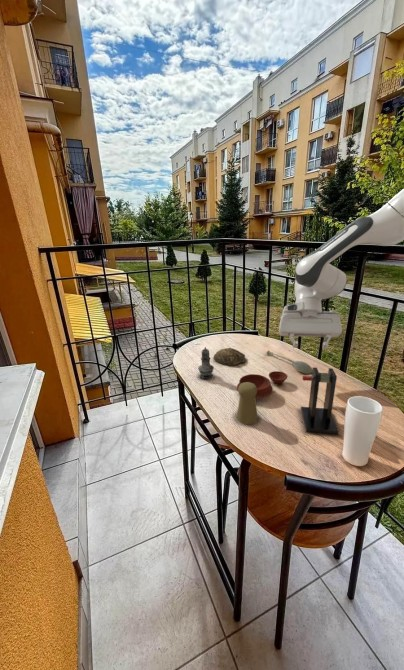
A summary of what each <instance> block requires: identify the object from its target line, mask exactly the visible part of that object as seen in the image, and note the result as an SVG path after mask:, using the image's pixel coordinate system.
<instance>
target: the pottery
mask: <svg viewBox="0 0 404 670" xmlns="http://www.w3.org/2000/svg"><path fill="white" fill-rule="evenodd" d="M287 380H288V374H287V373H285V372H284V371H280V370H279V371H271V372H269V373H268V377H266V376H265V375H262V374H256V373H253V374H252V373H251V374H246V375H243V376H241V377H240V378H239V380H238V383H237V385H236V391H238V388H239V386H240V384H241V383H244V382H250V383H253V384H255V386H256V387H257V394H256V395H255V399H261V398H266V397H268V396H270V395H271V394H272V393H273V390H274V388H273V385H275V386H281V385H282V384H283V383H284V382H285V381H287ZM271 381H272V383H273V385H272V383H271Z"/></svg>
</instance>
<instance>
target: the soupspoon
mask: <svg viewBox="0 0 404 670" xmlns="http://www.w3.org/2000/svg"><path fill="white" fill-rule="evenodd" d="M266 354H267V355H274V356H276V357H279V358H281V359H283V360H286V361H288V362H290V363H291V364H292V365H291V366H292V367H293V368H294V369H295V370H297V371H298V372H300V373H301V374H305V375H310V374H312V371H313V367H312V366H311V365H310V364H309V363H307V362H305V361H302V360H301V361H300V360H297V361H294V360H292V359H290V358H287V357H286V356H282V355H279V354H277V353H275V352H272V351H270V350H267V351H266Z"/></svg>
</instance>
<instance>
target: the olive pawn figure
mask: <svg viewBox="0 0 404 670" xmlns="http://www.w3.org/2000/svg"><path fill="white" fill-rule="evenodd" d="M237 392H238V394H239V399H238V406H237V412H236V420H237V421H238V422H239V423H240V424H244V425H252V424H255V423H257V421H258V410H257V403H256V398H255V395H256V394H257V387H256V386H255V384H253V383H250V382H244V383H241V384H240V386H239V388H238V390H237Z"/></svg>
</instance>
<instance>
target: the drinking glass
mask: <svg viewBox="0 0 404 670" xmlns="http://www.w3.org/2000/svg"><path fill="white" fill-rule="evenodd" d="M382 416H383V406H382V404H381V403H380V402H379V401H377V400H375V399H373V398H370V397H367V396H361V395H355V396H351V397H349V398H348V399H347V403H346V406H345V413H344V424H343V426H344V427H343V442H342V443H343V444H342V453H341V454H342V458H343V459H344V461H346V462H347V463H348V464H350V465H352V466H356V467H363V466H366V465H367V464H368V462H369V458H370V454H371V452H372V448H373V446H374V443H375V439H376V437H377V435H378V431H379V428H380V425H381V421H382Z"/></svg>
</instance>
